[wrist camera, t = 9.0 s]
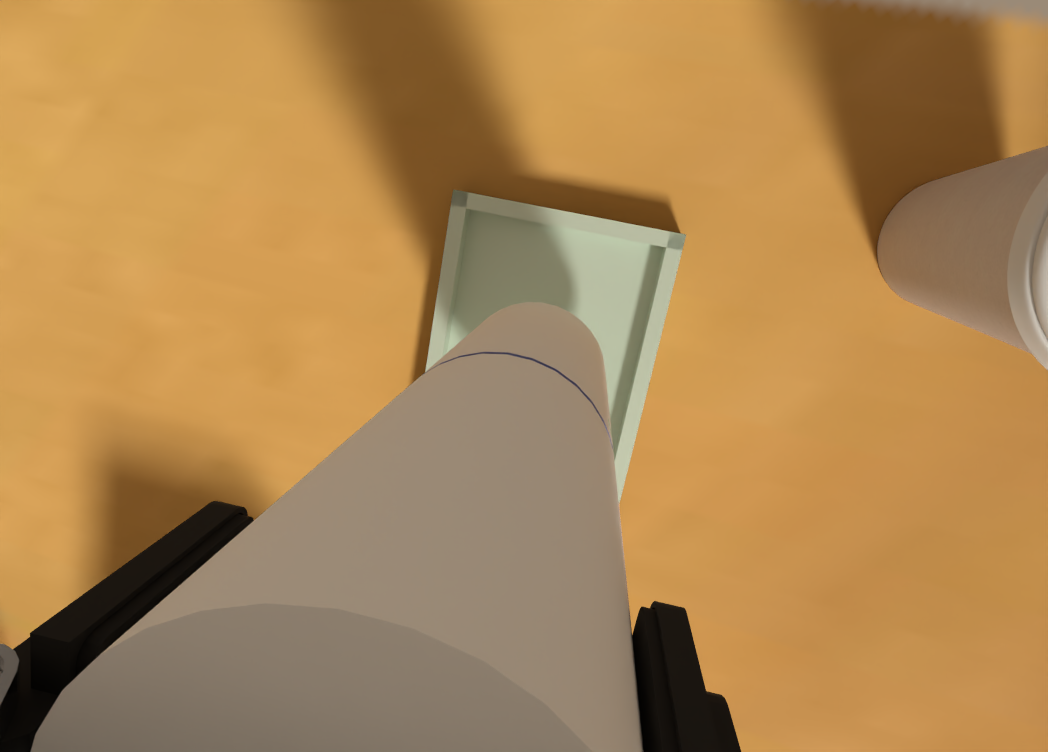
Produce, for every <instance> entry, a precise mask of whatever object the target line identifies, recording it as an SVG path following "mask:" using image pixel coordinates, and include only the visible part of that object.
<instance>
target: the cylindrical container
mask: <svg viewBox="0 0 1048 752" xmlns="http://www.w3.org/2000/svg"><path fill="white" fill-rule="evenodd" d="M31 752H644V750H643V740H642V730H641V720H640V710H639V700H638V690H637V680H636V670H635V660H634V651H633V641H632V631H631V621H630V611H629V601H628V591H627V581H626V571H625V561H624V551H623V541H622V531H621V521H620V511H619V501H618V492H617V482H616V472H615V462H614V452H613V442H612V432H611V422H610V412H609V402H608V393H607V383H606V373H605V365H604V359H603V354H602V352H601V349H600V346H599V343H598V342H597V340H596V338H595V337H594V335H593V333H592V332H591V331H590V329H589V328H588V327H587V326H586V325H585V324H584V323H583V322H582V321H581V320H580V319H579V318H577V317H576V316H575V315H573V314H572V313H570V312H569V311H566V310H564V309H562V308H560V307H558V306H555V305H551V304H546V303H542V302H524V303H519V304H513V305H510V306H508V307H505V308H503V309H500V310H499V311H497V312H495V313H494V314H492V315H491V316H489V317H488V318H487V319H486V320H485V321H483V322H482V323H481V324H480V325H479V326H478V327H476V328H475V329H474V330H473V331H472V332H471V333H469V334H468V335H467V336H466V337H465V338H464V339H463V340H461V341H460V342H459V343H458V344H457V345H456V346H454V347H453V348H452V349H451V350H450V351H449V352H448V353H446V354H445V355H444V356H443V357H442V358H441V359H440V360H438V361H437V362H436V363H435V364H434V365H433V366H432V367H430V368H429V369H428V370H427V371H426V372H425V373H424V374H422V375H421V376H420V377H419V378H418V379H417V380H415V381H414V382H413V383H412V384H411V385H410V386H409V387H407V388H406V389H405V390H404V391H403V392H402V393H400V394H399V395H398V396H397V397H396V398H395V399H394V400H392V401H391V402H390V403H389V404H388V405H387V406H385V407H384V408H383V409H382V410H381V411H380V412H378V413H377V414H376V415H375V416H374V417H373V418H372V419H370V420H369V421H368V422H367V423H366V424H365V425H363V426H362V427H361V428H360V429H359V430H358V431H357V432H355V433H354V434H353V435H352V436H351V437H350V438H348V439H347V440H346V441H345V442H344V443H343V444H341V445H340V446H339V447H338V448H337V449H336V450H335V451H333V452H332V453H331V454H330V455H329V456H328V457H327V458H325V459H324V460H323V461H322V462H321V463H320V464H318V465H317V466H316V467H315V468H314V469H313V470H312V471H310V472H309V473H308V474H307V475H306V476H305V477H304V478H302V479H301V480H300V481H299V482H298V483H297V484H295V485H294V486H293V487H292V488H291V489H290V490H289V491H287V492H286V493H285V494H284V495H283V496H282V497H281V498H279V499H278V500H277V501H276V502H275V503H274V504H273V505H271V506H270V507H269V508H268V509H267V510H266V511H264V512H263V513H262V514H261V515H260V516H259V517H258V518H256V519H255V520H254V521H253V522H252V523H251V524H250V525H248V526H247V527H246V528H245V529H244V530H243V531H241V532H240V533H239V534H238V535H237V536H236V537H235V538H233V539H232V540H231V541H230V542H229V543H228V544H227V545H225V546H224V547H223V548H222V549H221V550H220V551H219V552H217V553H216V554H215V555H214V556H213V557H212V558H210V559H209V560H208V561H207V562H206V563H205V564H204V565H202V566H201V567H200V568H199V569H198V570H197V571H196V572H194V573H193V574H192V575H191V576H190V577H189V578H187V579H186V580H185V581H184V582H183V583H182V584H181V585H179V586H178V587H177V588H176V589H175V590H174V591H173V592H171V593H170V594H169V595H168V596H167V597H166V598H164V599H163V600H162V601H161V602H160V603H159V604H158V605H156V606H155V607H154V608H153V609H152V610H151V611H150V612H148V613H147V614H146V615H145V616H144V617H143V618H142V619H140V620H139V621H138V622H137V623H136V624H135V625H133V626H132V627H131V628H130V629H129V630H128V631H127V632H125V633H124V634H123V635H122V636H121V637H120V638H119V639H117V640H116V641H115V642H114V643H113V644H112V645H110V646H109V647H108V648H107V649H106V650H105V651H104V652H102V653H101V654H100V655H99V656H98V657H97V658H96V659H95V660H94V661H93V662H92V663H91V664H90V665H88V666H87V667H86V668H85V669H84V670H83V671H82V672H81V673H80V674H79V675H78V676H77V677H76V678H75V679H74V680H73V681H72V682H70V683H69V684H68V685H67V686H66V687H65V688H64V689H63V690H62V692H61V693H60V695H59V696H58V698H57V700H56V701H55V703H54V705H53V706H52V708H51V710H50V711H49V713H48V714H47V716H46V718H45V719H44V721H43V723H42V724H41V726H40V727H39V729H38V731H37V732H36V734H35V738H34V741H33V745H32V748H31Z"/></svg>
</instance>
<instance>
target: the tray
mask: <svg viewBox="0 0 1048 752" xmlns="http://www.w3.org/2000/svg"><path fill="white" fill-rule="evenodd" d="M685 237H686V235H685V234H680V233H675V232H670V231H665V230H660V229H655V228H649V227H644V226H639V225H634V224H629V223H624V222H618V221H613V220H608V219H603V218H598V217H593V216H588V215H582V214H577V213H572V212H567V211H562V210H557V209H551V208H546V207H541V206H536V205H531V204H526V203H520V202H515V201H510V200H505V199H500V198H495V197H490V196H484V195H479V194H474V193H469V192H464V191H459V190H453V194H452V201H451V207H450V214H449V220H448V227H447V233H446V240H445V247H444V253H443V260H442V266H441V273H440V279H439V286H438V292H437V299H436V305H435V312H434V318H433V325H432V331H431V338H430V344H429V351H428V357H427V364H426V370H425V372H426V371H427V370H428V369H429V368H430V367H432V366H433V365H434V364H435V363H436V362H437V361H438V360H440V359H441V358H442V357H443V356H444V355H445V354H446V353H448V352H449V351H450V350H451V349H452V348H453V347H454V346H456V345H457V344H458V343H459V342H460V341H461V340H463V339H464V338H465V337H466V336H467V335H468V334H469V333H471V332H472V331H473V330H474V329H475V328H476V327H478V326H479V325H480V324H481V323H482V322H483V321H485V320H486V319H487V318H488V317H489V316H491V315H492V314H494V313H495V312H497V311H499V310H500V309H503V308H505V307H508V306H510V305H513V304H519V303H524V302H542V303H546V304H551V305H555V306H558V307H560V308H562V309H564V310H566V311H569V312H570V313H572V314H573V315H575V316H576V317H577V318H579V319H580V320H581V321H582V322H583V323H584V324H585V325H586V326H587V327H588V328H589V329H590V331H591V332H592V333H593V335H594V337H595V338H596V340H597V342H598V343H599V346H600V349H601V352H602V354H603V359H604V365H605V373H606V383H607V393H608V402H609V412H610V422H611V432H612V442H613V452H614V462H615V472H616V482H617V492H618V501H619V503H620V499H621V495H622V491H623V487H624V483H625V479H626V475H627V471H628V467H629V463H630V459H631V455H632V450H633V446H634V442H635V438H636V434H637V430H638V426H639V422H640V418H641V414H642V410H643V406H644V402H645V398H646V394H647V390H648V386H649V382H650V378H651V374H652V370H653V366H654V362H655V358H656V354H657V350H658V346H659V342H660V338H661V334H662V330H663V326H664V322H665V318H666V314H667V310H668V306H669V302H670V298H671V294H672V290H673V285H674V281H675V277H676V273H677V269H678V265H679V261H680V257H681V253H682V249H683V245H684V241H685Z"/></svg>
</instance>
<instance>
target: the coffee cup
mask: <svg viewBox="0 0 1048 752" xmlns="http://www.w3.org/2000/svg"><path fill="white" fill-rule="evenodd" d="M877 257H878V264H879V268H880V271H881V273H882V276H883V278H884V280H885V281H886V283H887V284H888V286H889V287H890V288H891V289H892V290H893V291H894V292H895V293H896V294H897V295H899V296H900V297H901V298H903V299H905V300H906V301H908V302H910V303H913V304H915V305H917V306H920V307H922V308H925V309H927V310H929V311H932V312H934V313H937V314H939V315H941V316H944V317H946V318H948V319H951V320H953V321H956V322H958V323H960V324H963V325H965V326H967V327H970V328H972V329H975V330H977V331H979V332H982V333H984V334H986V335H989V336H991V337H993V338H996V339H998V340H1001V341H1003V342H1005V343H1008V344H1010V345H1012V346H1015V347H1017V348H1019V349H1022V350H1024V351H1026V352H1029V353H1031V354H1033V355H1034V357H1035V358H1036V359H1037V360H1038V361H1039V362H1040V363H1041V364H1042V365H1043V366H1044V367H1045V368H1046V369H1047V370H1048V146H1046V147H1042V148H1039V149H1036V150H1033V151H1029V152H1026V153H1023V154H1019V155H1016V156H1013V157H1009V158H1006V159H1003V160H1000V161H996V162H993V163H990V164H986V165H983V166H980V167H976V168H973V169H970V170H966V171H963V172H960V173H956V174H953V175H950V176H946V177H943V178H940V179H937V180H933V181H931V182H928V183H926V184H923V185H921V186H919V187H917V188H916V189H914V190H913V191H911V192H910V193H908V194H907V195H906V196H905V197H903V198H902V199H901V200H900V201H899V202H898V203H897V204H896V205H895V207H894V208H893V209H892V210H891V212H890V213H889V215H888V216H887V218H886V220H885V222H884V224H883V226H882V229H881V232H880V235H879V239H878V246H877Z"/></svg>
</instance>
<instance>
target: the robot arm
mask: <svg viewBox="0 0 1048 752" xmlns="http://www.w3.org/2000/svg"><path fill="white" fill-rule="evenodd" d="M253 521H254V519H253V518H252V517H249V516H248V514H247V510H246V509H245V508H244V507H240V506H236V505H232V504H227V503H223V502H218V501H213V502H211V503H209V504H208V505H207V506H205V507H204V508H202V509H201V510H200V511H198V512H197V513H196V514H194V515H193V516H191V517H190V518H189V519H187V520H186V521H184V522H183V523H182V524H180V525H179V526H178V527H176V528H175V529H173V530H172V531H171V532H169V533H168V534H166V535H165V536H164V537H162V538H161V539H160V540H158V541H157V542H155V543H154V544H153V545H151V546H150V547H148V548H147V549H146V550H144V551H143V552H142V553H140V554H139V555H137V556H136V557H135V558H133V559H132V560H130V561H129V562H128V563H126V564H125V565H124V566H122V567H121V568H119V569H118V570H117V571H115V572H114V573H112V574H111V575H110V576H108V577H107V578H106V579H104V580H103V581H101V582H100V583H99V584H97V585H96V586H94V587H93V588H92V589H90V590H89V591H88V592H86V593H85V594H83V595H82V596H81V597H79V598H78V599H76V600H75V601H74V602H72V603H71V604H70V605H68V606H67V607H65V608H64V609H63V610H61V611H60V612H58V613H57V614H56V615H54V616H53V617H52V618H50V619H49V620H47V621H46V622H45V623H43V624H42V625H40V626H39V627H38V628H36V629H35V630H34V631H32V632H31V633H30V637H29V638H28V639H27V640H25V641H24V642H23V643H21V644H20V645H18V646H17V647H16V648H14V649H11V648H9V647H8V646H6V645H4V644H0V752H31V748H32V745H33V741H34V738H35V734H36V732H37V731H38V729H39V727H40V726H41V724H42V723H43V721H44V719H45V718H46V716H47V714H48V713H49V711H50V710H51V708H52V706H53V705H54V703H55V701H56V700H57V698H58V696H59V695H60V693H61V692H62V690H63V689H64V688H65V687H66V686H67V685H68V684H69V683H70V682H72V681H73V680H74V679H75V678H76V677H77V676H78V675H79V674H80V673H81V672H82V671H83V670H84V669H85V668H86V667H87V666H88V665H90V664H91V663H92V662H93V661H94V660H95V659H96V658H97V657H98V656H99V655H100V654H101V653H102V652H104V651H105V650H106V649H107V648H108V647H109V646H110V645H112V644H113V643H114V642H115V641H116V640H117V639H119V638H120V637H121V636H122V635H123V634H124V633H125V632H127V631H128V630H129V629H130V628H131V627H132V626H133V625H135V624H136V623H137V622H138V621H139V620H140V619H142V618H143V617H144V616H145V615H146V614H147V613H148V612H150V611H151V610H152V609H153V608H154V607H155V606H156V605H158V604H159V603H160V602H161V601H162V600H163V599H164V598H166V597H167V596H168V595H169V594H170V593H171V592H173V591H174V590H175V589H176V588H177V587H178V586H179V585H181V584H182V583H183V582H184V581H185V580H186V579H187V578H189V577H190V576H191V575H192V574H193V573H194V572H196V571H197V570H198V569H199V568H200V567H201V566H202V565H204V564H205V563H206V562H207V561H208V560H209V559H210V558H212V557H213V556H214V555H215V554H216V553H217V552H219V551H220V550H221V549H222V548H223V547H224V546H225V545H227V544H228V543H229V542H230V541H231V540H232V539H233V538H235V537H236V536H237V535H238V534H239V533H240V532H241V531H243V530H244V529H245V528H246V527H247V526H248V525H250V524H251V523H252V522H253ZM632 641H633V651H634V660H635V670H636V680H637V690H638V700H639V710H640V720H641V730H642V740H643V750H644V752H741V750H740V746H739V743H738V739H737V736H736V732H735V729H734V725H733V722H732V718H731V715H730V711H729V708H728V705H727V702H726V700H725V698H724V697H723V696H722V695H719V694H715V693H711V692H707V691H706V689H705V685H704V681H703V677H702V673H701V669H700V665H699V661H698V657H697V653H696V649H695V645H694V641H693V637H692V633H691V629H690V625H689V621H688V617H687V613H686V610H685V608H682V607H678V606H674V605H669V604H665V603H660V602H656V601H654V602H653V603H652V605H651V607H650V608H646V607H641V608H640V610H639V613H638V617H637V620H636V624H635V628H634V632H633V635H632Z"/></svg>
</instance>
